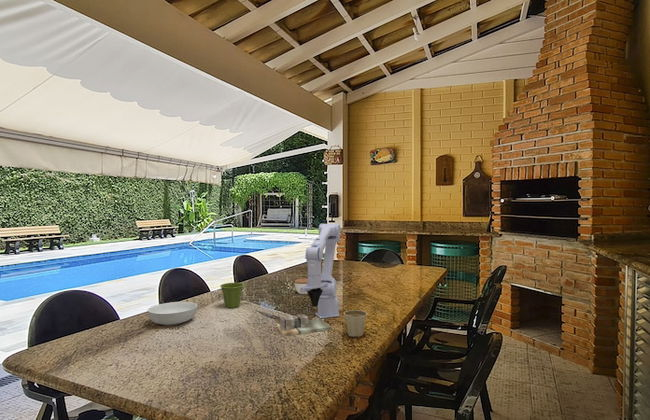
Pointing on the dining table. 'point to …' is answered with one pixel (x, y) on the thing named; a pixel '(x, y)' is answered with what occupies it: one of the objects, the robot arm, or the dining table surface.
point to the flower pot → (355, 322)
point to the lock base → (305, 325)
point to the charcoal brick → (296, 322)
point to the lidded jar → (301, 285)
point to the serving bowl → (172, 312)
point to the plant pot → (232, 294)
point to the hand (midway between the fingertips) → (314, 306)
